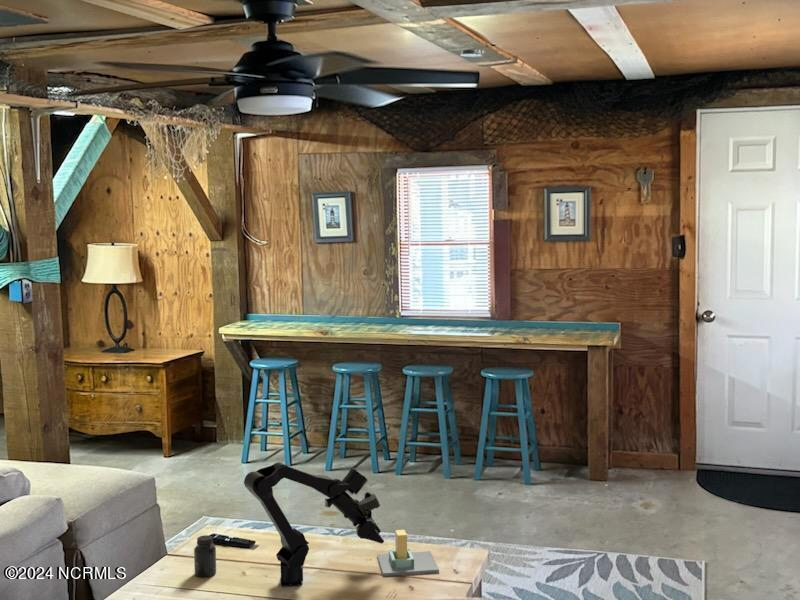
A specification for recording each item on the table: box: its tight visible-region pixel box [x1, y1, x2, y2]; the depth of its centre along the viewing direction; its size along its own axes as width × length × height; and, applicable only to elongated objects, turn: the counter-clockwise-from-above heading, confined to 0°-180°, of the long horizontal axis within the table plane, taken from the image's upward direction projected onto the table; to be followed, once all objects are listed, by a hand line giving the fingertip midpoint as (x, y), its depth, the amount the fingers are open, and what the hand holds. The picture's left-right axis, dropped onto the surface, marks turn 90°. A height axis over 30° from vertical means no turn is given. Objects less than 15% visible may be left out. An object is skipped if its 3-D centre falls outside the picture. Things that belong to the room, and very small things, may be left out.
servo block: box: [394, 529, 408, 559], centre depth 292 cm, size 3×5×10 cm, turn 9°
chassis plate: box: [376, 548, 440, 577], centre depth 293 cm, size 18×16×4 cm
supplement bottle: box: [193, 534, 217, 579], centre depth 286 cm, size 7×7×12 cm
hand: (381, 537), depth 291 cm, fingers open, 9 cm apart
